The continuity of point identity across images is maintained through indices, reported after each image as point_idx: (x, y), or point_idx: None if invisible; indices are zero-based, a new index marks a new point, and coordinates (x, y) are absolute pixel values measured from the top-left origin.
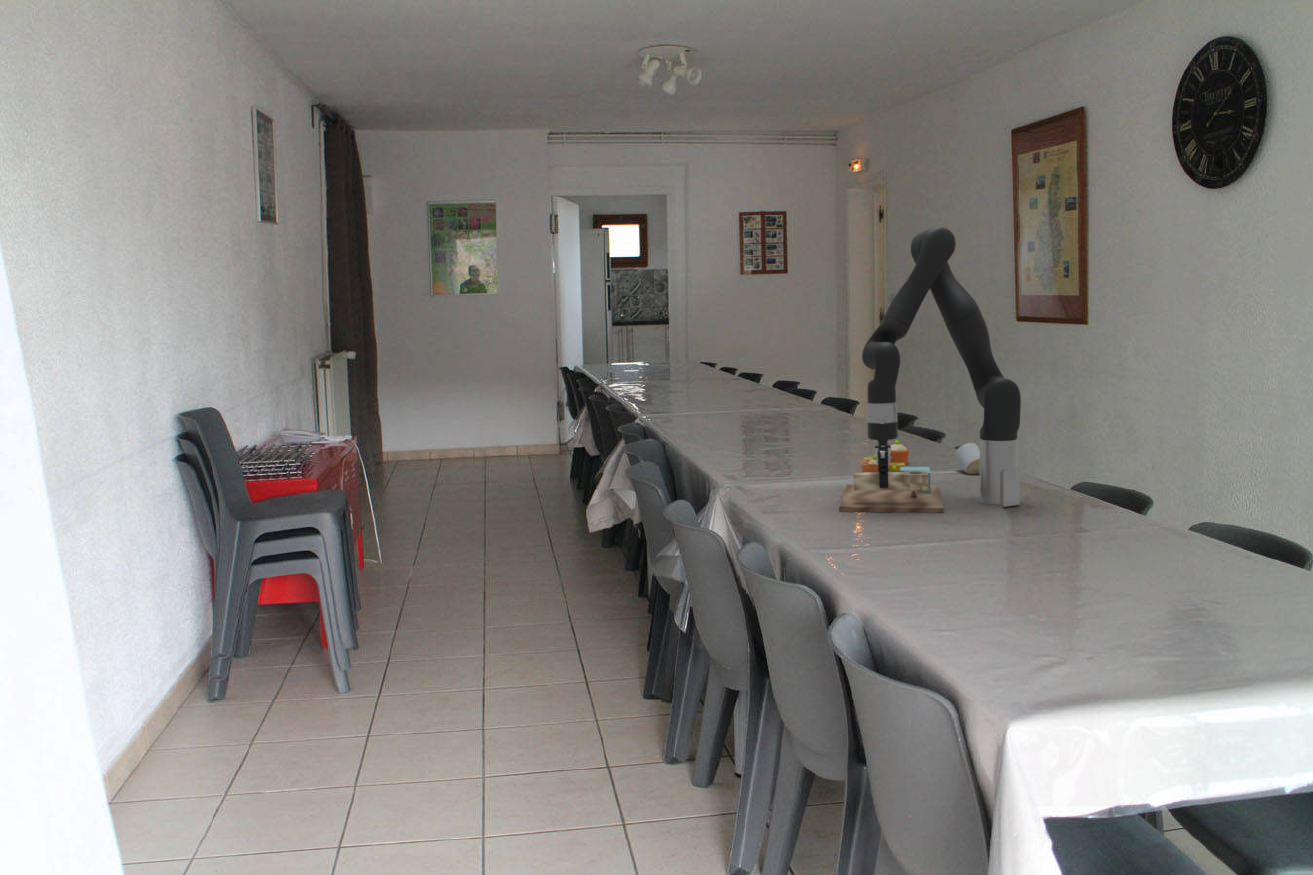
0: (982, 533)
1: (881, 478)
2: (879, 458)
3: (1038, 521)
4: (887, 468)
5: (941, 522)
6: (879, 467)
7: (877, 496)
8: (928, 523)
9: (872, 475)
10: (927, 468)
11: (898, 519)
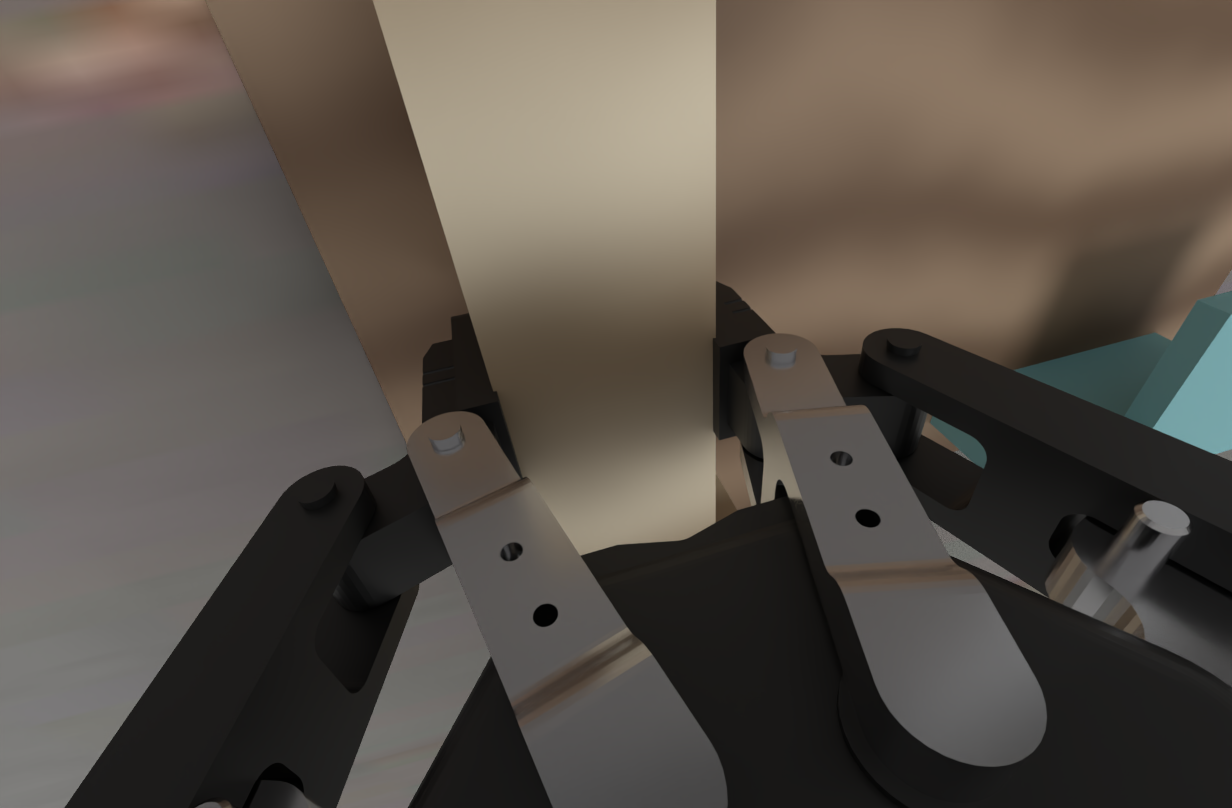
0: (3, 801)
1: (426, 409)
2: (103, 800)
3: (416, 789)
4: (329, 625)
5: (169, 636)
6: (253, 568)
7: (877, 121)
8: (79, 607)
9: (466, 298)
10: (1207, 449)
11: (79, 445)
